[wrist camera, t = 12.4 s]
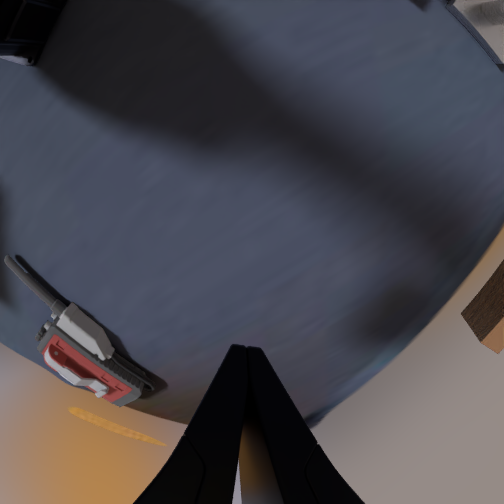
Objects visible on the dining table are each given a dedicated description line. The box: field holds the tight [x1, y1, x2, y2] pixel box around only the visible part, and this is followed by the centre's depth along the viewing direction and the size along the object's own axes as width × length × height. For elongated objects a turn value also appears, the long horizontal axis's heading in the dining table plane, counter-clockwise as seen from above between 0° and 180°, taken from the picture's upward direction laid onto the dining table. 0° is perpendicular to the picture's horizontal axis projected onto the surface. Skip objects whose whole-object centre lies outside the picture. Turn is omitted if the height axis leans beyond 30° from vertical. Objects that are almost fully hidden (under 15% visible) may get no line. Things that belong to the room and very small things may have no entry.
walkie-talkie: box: [4, 255, 156, 407], centre depth 24 cm, size 9×4×20 cm
